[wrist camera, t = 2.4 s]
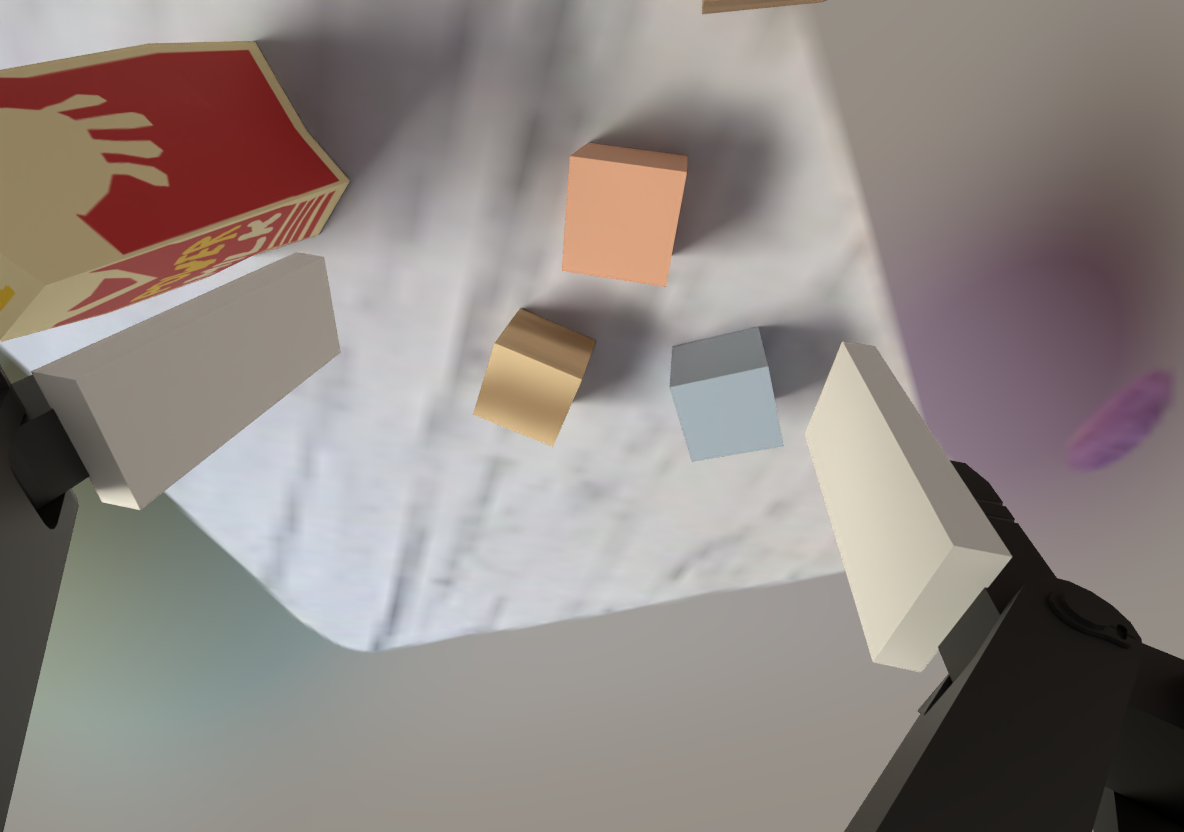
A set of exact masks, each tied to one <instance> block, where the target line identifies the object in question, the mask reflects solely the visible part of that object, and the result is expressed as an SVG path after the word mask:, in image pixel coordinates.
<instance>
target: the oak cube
mask: <svg viewBox="0 0 1184 832" xmlns="http://www.w3.org/2000/svg"><path fill="white" fill-rule="evenodd" d="M595 343H596V340H593V339H591V338H589V337H586V336H584V335H582V334H579V333H577V332H574V331H572V330H570V329H567V328H565V327H563V326H560V325H558V324H556V323H553V322H551V321H549V320H546V319H544V318H541V317H539V316H537V315H534V314H532V313H530V312H527V311H525V310H523V309H519V311H518V312H517V313H516V315H515V316H514V317H513V319H512V320H511V321H510V323H509V324H508V326H507V327H506V328H505V330H504V331H503V332H502V334H501V335H500V337H499V338H498V339H497V341H496V342H495V344H494V347H493V350H492V354H491V357H490V360H489V363H488V367H487V370H486V373H485V377H484V380H483V383H482V386H481V390H480V393H479V396H478V400H477V403H476V406H475V409H474V413H473V414H474V415H476V416H478V417H481V418H483V419H486V420H488V421H491V422H493V423H496V424H498V425H500V426H503V427H505V428H508V429H510V430H513V431H515V432H518V433H520V434H523V435H525V436H527V437H530V438H532V439H535V440H537V441H540V442H542V443H545V444H547V445H549V446H552V447H553V445H554V443H555V441H556V438H557V436H558V434H559V431H560V429H561V427H562V425H563V422H564V420H565V418H566V415H567V413H568V411H569V409H570V406H571V404H572V402H573V399H574V397H575V395H576V392H577V390H578V388H579V386H580V383H581V381H582V378H583V376H584V373H585V370H586V367H587V365H588V362H589V359H590V357H591V354H592V351H593V348H594V346H595Z"/></svg>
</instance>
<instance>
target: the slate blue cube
mask: <svg viewBox="0 0 1184 832" xmlns="http://www.w3.org/2000/svg"><path fill="white" fill-rule="evenodd" d="M670 390H671V393H672V397H673V400H674V403H675V407H676V410H677V413H678V417H679V420H680V424H681V427H682V430H683V434H684V437H685V440H686V444H687V447H688V450H689V454H690V457H691V460H692V462H693V461H699V460H705V459H711V458H717V457H723V456H729V455H735V454H741V453H747V452H753V451H759V450H765V449H771V448H777V447H782V446H784V445H783V440H782V435H781V430H780V425H779V419H778V414H777V409H776V404H775V399H774V393H773V388H772V383H771V378H770V373H769V367H768V363H767V359H766V355H765V351H764V347H763V343H762V339H761V335H760V331H759V327H754V328H750V329H745V330H741V331H737V332H733V333H729V334H724V335H720V336H716V337H712V338H707V339H703V340H699V341H695V342H690V343H686V344H682V345H678V346H673V349H672V362H671V376H670Z"/></svg>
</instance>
